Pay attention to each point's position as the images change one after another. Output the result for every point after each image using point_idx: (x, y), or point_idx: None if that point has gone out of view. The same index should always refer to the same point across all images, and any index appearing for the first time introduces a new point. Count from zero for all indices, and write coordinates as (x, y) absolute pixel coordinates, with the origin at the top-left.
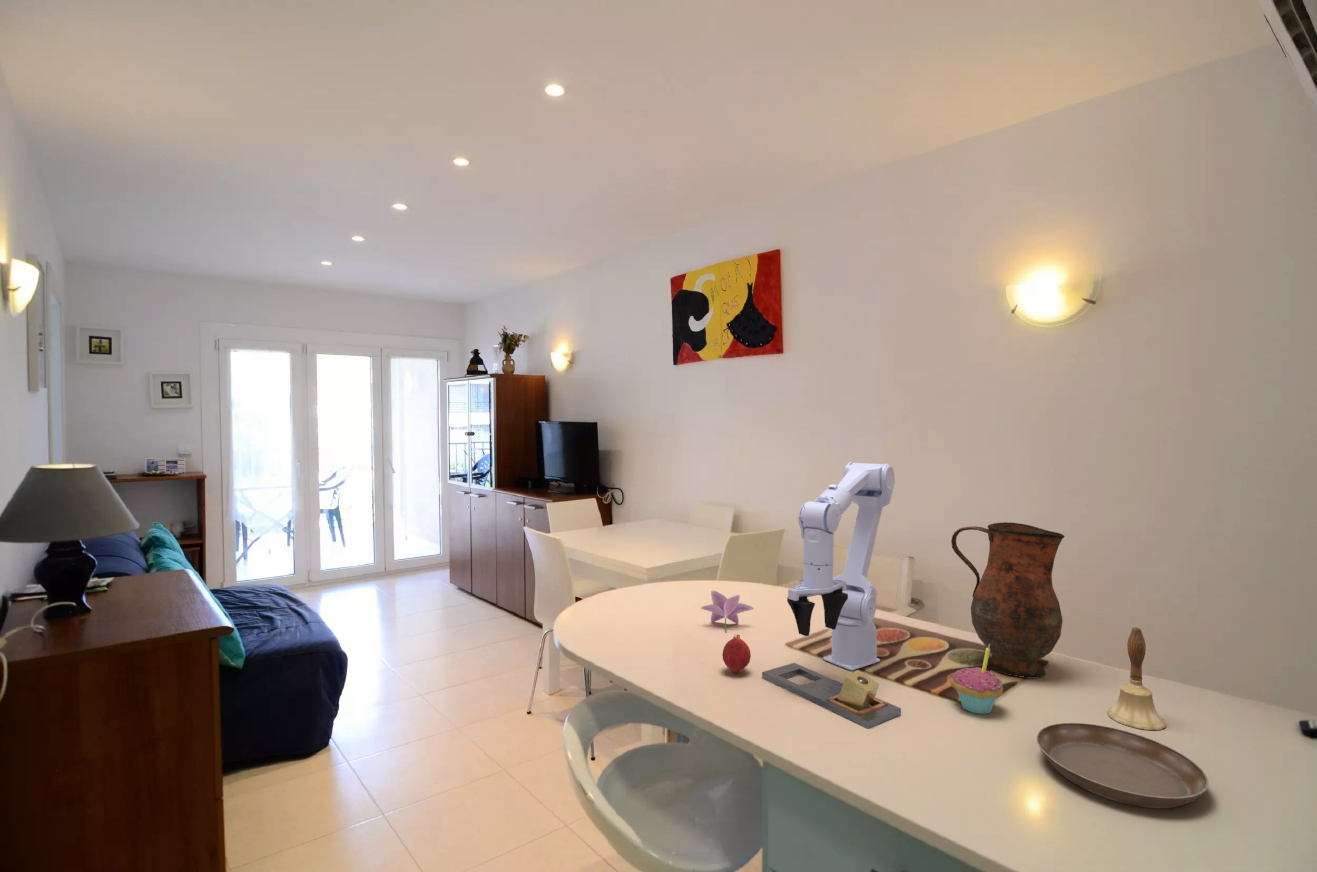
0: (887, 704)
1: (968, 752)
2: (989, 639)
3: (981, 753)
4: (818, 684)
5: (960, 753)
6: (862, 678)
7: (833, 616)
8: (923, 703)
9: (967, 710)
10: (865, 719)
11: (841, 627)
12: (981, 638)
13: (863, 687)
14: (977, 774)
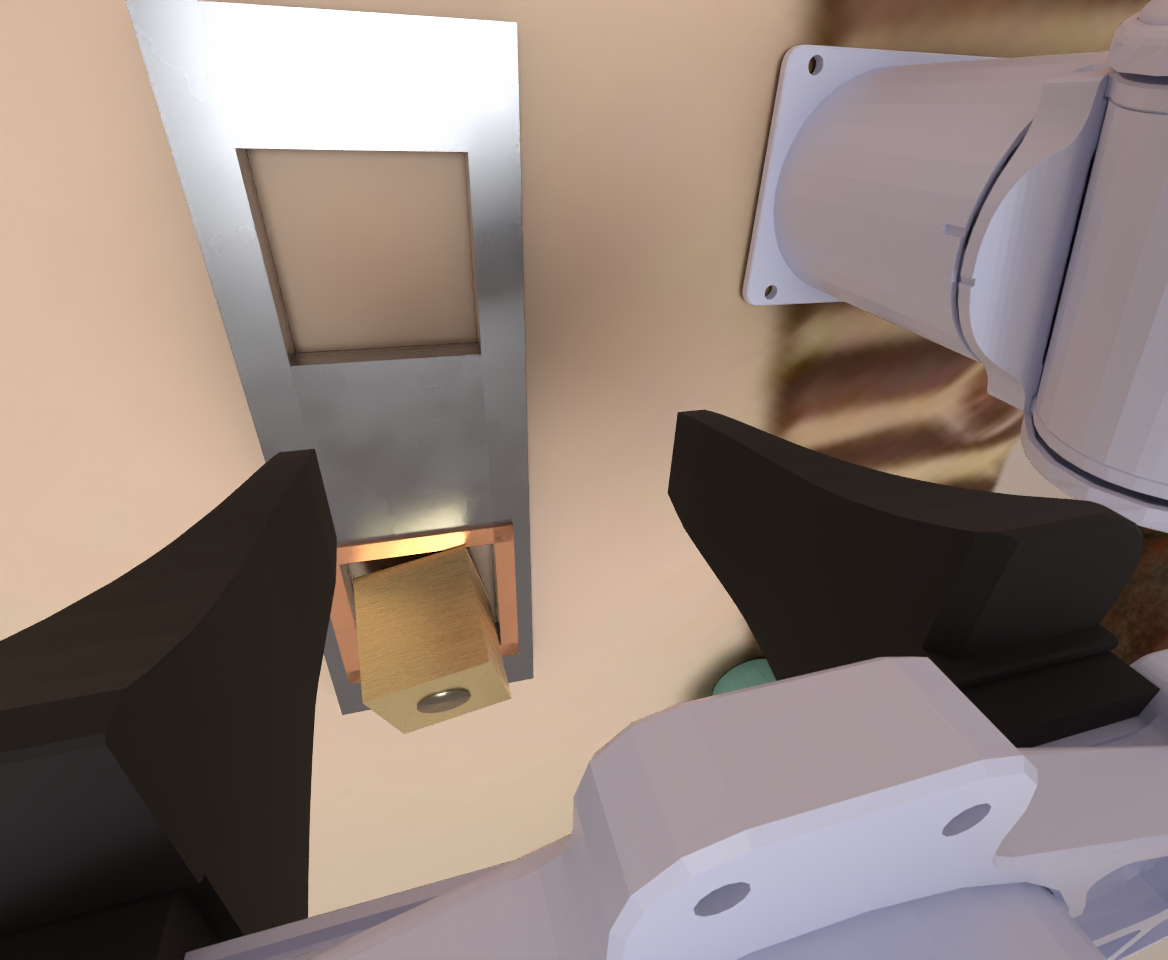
0: (516, 650)
1: (496, 815)
2: (1135, 634)
3: (518, 821)
4: (404, 403)
5: (474, 816)
6: (453, 695)
7: (727, 557)
8: (665, 626)
9: (714, 688)
10: (345, 703)
11: (935, 267)
12: (1165, 586)
13: (405, 724)
14: (424, 869)
